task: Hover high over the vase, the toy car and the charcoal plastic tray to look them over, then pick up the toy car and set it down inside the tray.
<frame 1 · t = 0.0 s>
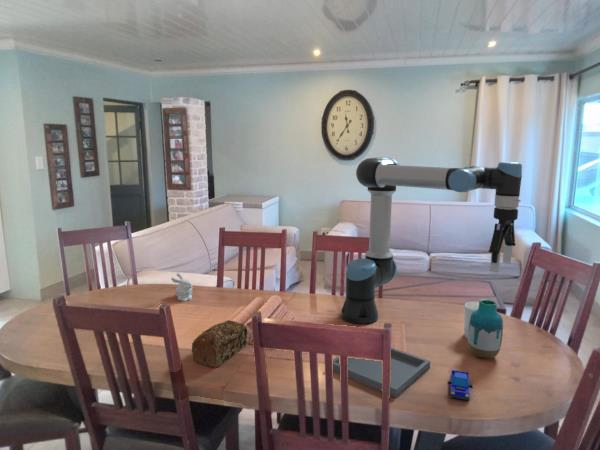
hand: (500, 267, 157), 28 cm above the table, tool pointing down, fingers open, 13 cm apart
candle holder: (476, 337, 166), on the table
tray: (379, 368, 143), on the table
vase: (483, 355, 152), on the table
bread: (221, 354, 152), on the table
toy car: (459, 391, 131), on the table
rabbit: (184, 299, 204), on the table
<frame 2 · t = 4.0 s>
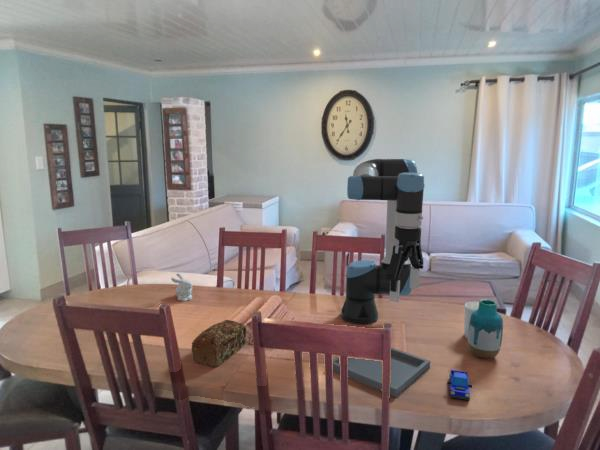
hand: (404, 294, 135), 26 cm above the table, tool pointing down, fingers open, 13 cm apart
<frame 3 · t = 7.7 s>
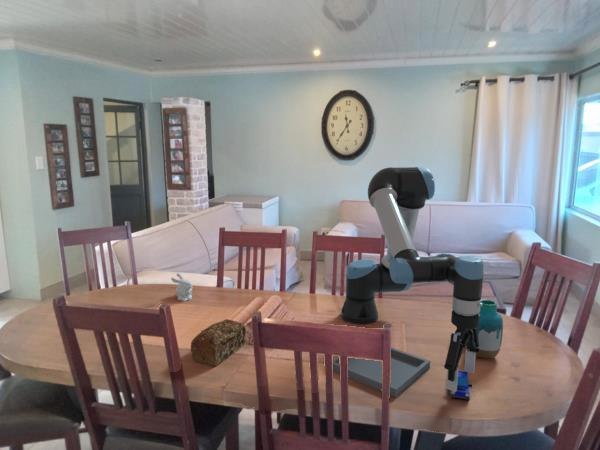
hand: (460, 380, 130), 3 cm above the table, tool pointing down, fingers closed on toy car, 13 cm apart
toy car: (458, 390, 131), on the table, touching gripper
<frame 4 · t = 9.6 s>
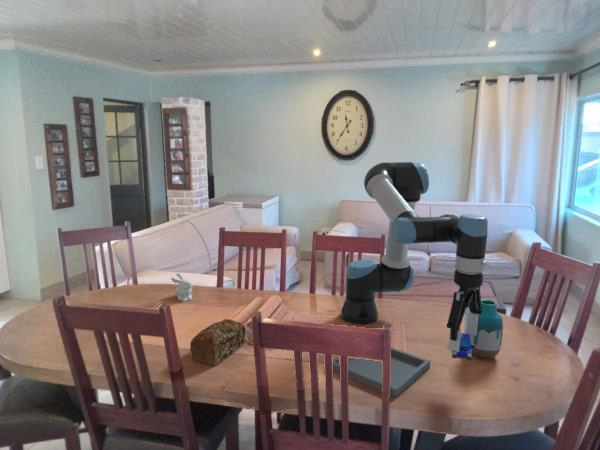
hand: (463, 341, 128), 15 cm above the table, tool pointing down, fingers closed on toy car, 13 cm apart
toy car: (460, 352, 129), point 12 cm above the table, touching gripper
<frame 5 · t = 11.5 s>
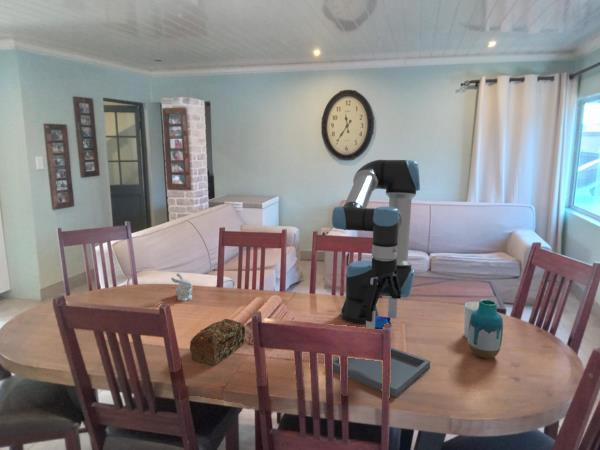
hand: (381, 323, 140), 15 cm above the table, tool pointing down, fingers closed on toy car, 13 cm apart
toy car: (380, 333, 141), point 12 cm above the table, touching gripper
when the fingers open (5 cm above the table, at t = 14.1 s): toy car stays where it is, resting on tray.
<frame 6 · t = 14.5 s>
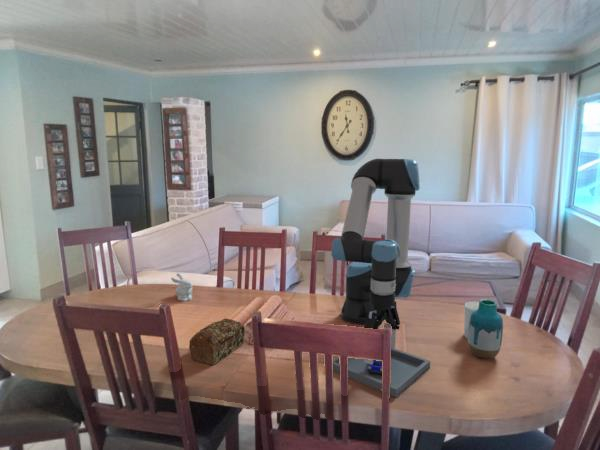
hand: (380, 355, 142), 5 cm above the table, tool pointing down, fingers open, 13 cm apart
toy car: (378, 366, 143), resting on tray
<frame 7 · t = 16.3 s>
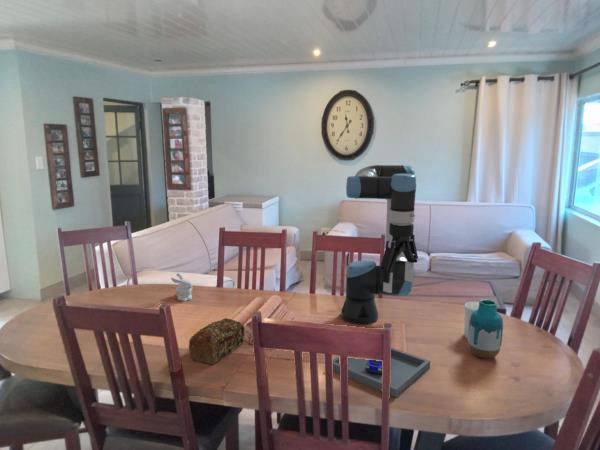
hand: (398, 286, 146), 25 cm above the table, tool pointing down, fingers open, 13 cm apart
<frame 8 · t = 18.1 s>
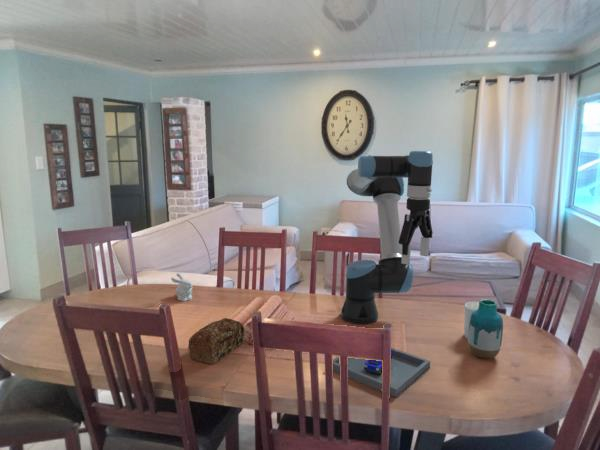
hand: (415, 259, 152), 32 cm above the table, tool pointing down, fingers open, 13 cm apart
at the end: toy car inside the target area on the tray (0.5 cm from its centre), point 0.4 cm above the tray's base; the gripper is holding nothing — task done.
